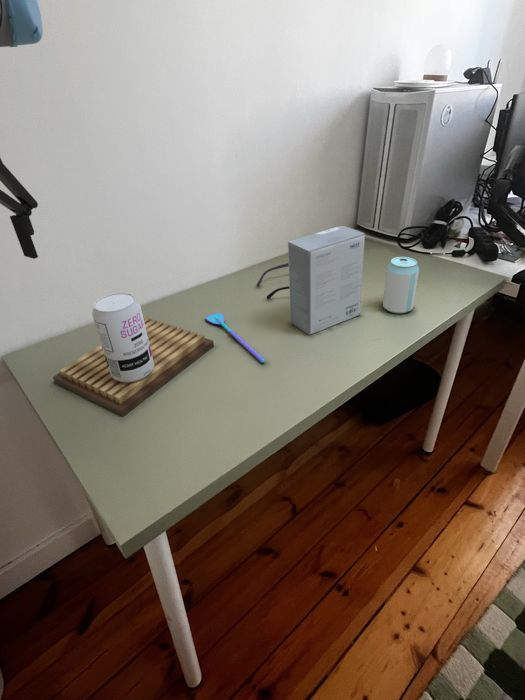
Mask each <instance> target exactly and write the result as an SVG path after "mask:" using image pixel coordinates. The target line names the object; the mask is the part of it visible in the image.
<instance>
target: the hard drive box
mask: <svg viewBox="0 0 525 700" xmlns="http://www.w3.org/2000/svg"><path fill="white" fill-rule="evenodd" d="M365 244H366V233H365V232H363V231H359V230H357V229H354V228H352V227H348V226H345V225H339V226H335V227H332V228H329V229H326V230H322V231H318V232H316V233H312V234H309V235H306V236H302V237H300V238H299V237H298V238H296V239H293V240H292V239H291V240H289V241H287V253H288V254H287V258H288V262H287V263H289V266H288V286H289V289H288V290H289V291H288V292H289V313H290V314H289V315H290V317H289V319H290V324H292V325H294V326H295V327H296V328H297V329H299V330H300V331H302V332H304V333H305V334H306V335H308V336H311V335H313V334H315V333H319V332H321V331H324V330H326V329H328V328H330V327H331V328H332V327H333V326H336V325H338V324H340V323H343V322H346V321H349V320H351V319H353V318H355V317H358V316H360V315H361V303H362V286H363V272H364V259H365V257H364V256H365Z"/></svg>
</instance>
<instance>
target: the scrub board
mask: <svg viewBox="0 0 525 700" xmlns="http://www.w3.org/2000/svg"><path fill="white" fill-rule="evenodd" d="M143 319H144V323H145V327H146V331H147V336H148V340H149V344H150V348H151V353H152V357H153V361H154V368H153V370H152V371H151V372H150V374H149V375H148V376H146V377H145V378H143V379H141V380H139V381H136V382H130V383H125V382H120V381H118V380H115V379H114V378H113V377H111V374H110V371H109V368H108V364H107V361H106V358H105V355H104V351H103V348H102V345H101V344H100V345H99V346H97V347H96V348H94V349H92V350H90V351H89V352H87V353H85V354H83V355H82V356H80V357H79V358H77V359H76V360H74V361H72V362H70V363H68V364H67V365H66V366H63V367H62V368H60V369H59V373H57V374H55V375H53V376H52V379H53V381H54V384H56V385H58V386H61V387H62V388H65V389H66V390H69V391H71V392H73V393H75V394H77V395H78V396H80V397H82V398H84V399H87V400H88V401H91V402H93V403H95V404H97V405H99V406H101V407H103V408H105V409H107V410H109V411H111V412H113V413H115V414H117V415H119V416H121V417H125V416H126V415H128V414H129V413H130V412H132V411H133V410H134V409H135V408H137V407H138V406H139V405H141V404H142V403H143V402H144V401H146V400H147V399H149V398H150V397H151V396H152V395H153V394H154V393H156V392H157V391H159V390H160V389H161V388H163V386H165V385H166V384H167V383H169V382H170V381H172V380H173V379H174V378H175V377H176V376H178V375H179V374H180V373H181V372H184V370H185V369H187V368H188V367H190V366H191V365H192V364H193V363H195V362H196V361H197V360H198V359H200V358H202V357H203V356H204V355H205V354H206V353H208V352H209V351H210V350H212V349H213V348H214V347H215V345H214V340H212V339H209V338H206V337H205V334H201V333H199V334H198V332H195V331H193V332H191V330H190V329H185V330H184V328H183V327H178V326H177V325H175V324H170V323H167V322H166V323H165V322H164V321H161V320H158V319H156V318H153V319H152V317H148V316H147V317H145V318H143Z"/></svg>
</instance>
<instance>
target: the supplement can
mask: <svg viewBox="0 0 525 700" xmlns="http://www.w3.org/2000/svg"><path fill="white" fill-rule="evenodd" d="M91 314H92V315H91V316H92V319H93V323H94V325H95V329H96V332H97V335H98V338H99V341H100V345H102V348H103V351H104V355H105V358H106V361H107V364H108V368H109V371H110V374H111V377H113V378H114V379H115V380H118V381H120V382H125V383H130V382H136V381H139V380H141V379H143V378H145V377H146V376H148V375H149V374H150V372H151V371H152V370H153V368H154V361H153V357H152V353H151V348H150V344H149V340H148V336H147V331H146V327H145V323H144V319H145V318H144V315H143V310H142V307H141V304H140V302H139V301H138V300H137V299H136V297H135V295H134V294H132V293H127V292H115V293H110V294H107V295H104V296H101V297H100V298H98V299H97V300H95V302H94V303H93V308H92V312H91Z"/></svg>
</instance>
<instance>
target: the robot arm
mask: <svg viewBox="0 0 525 700" xmlns="http://www.w3.org/2000/svg"><path fill="white" fill-rule="evenodd" d="M43 32H44V29H43V21H42V15H41V10H40V6H39V2H38V0H0V48H7V47H8V48H9V47H10V48H17V47H18V46H27V45H35V44H37V43H40V41H41V40H42V38H43ZM0 182H1V183H2V185H3V186H4V187H5V188H6V189H7V190H8V191H9V192H10V193H11V194H12V196H14V197H15V199H14V198H13V197H12V196H10V195H9V194H8V193H6V192H4V191H3V190H2V189H0V205H1V206H3V207H4V208H6V209H7V210H9V211H10V212H12V213H14V214H13V215H9V219H10V222H11V224H12V227H13V230H14V231H15V235H16V238H17V240H18V242H19V245H20V249H21V251H22V254H23V256H24V257H25V258H28V259H29V258H30V259H34V260H35V259H37V258H39V255H38V252H37V250H36V246H35V244H34V240H33V239H32V236H34V235H35V230H34V227H33V224H32V220H31V219H30V216H32V214H33V211H32V210H33V209H37V208H38V206H39V204H38V201H37V200H36V199H35V197H34V196H32V194H31V193H30V192H29V191H28V190H27V189H26V188H25V186H23V184H22V183H21V182H20V181H19V180H18V179H17V178H16V176H15V175H14V174H13V173H12V172H11V171H10V169H9V168H8V167H7V166H6V165H5V164H4V162H3V160H2V158H1V157H0Z"/></svg>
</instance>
